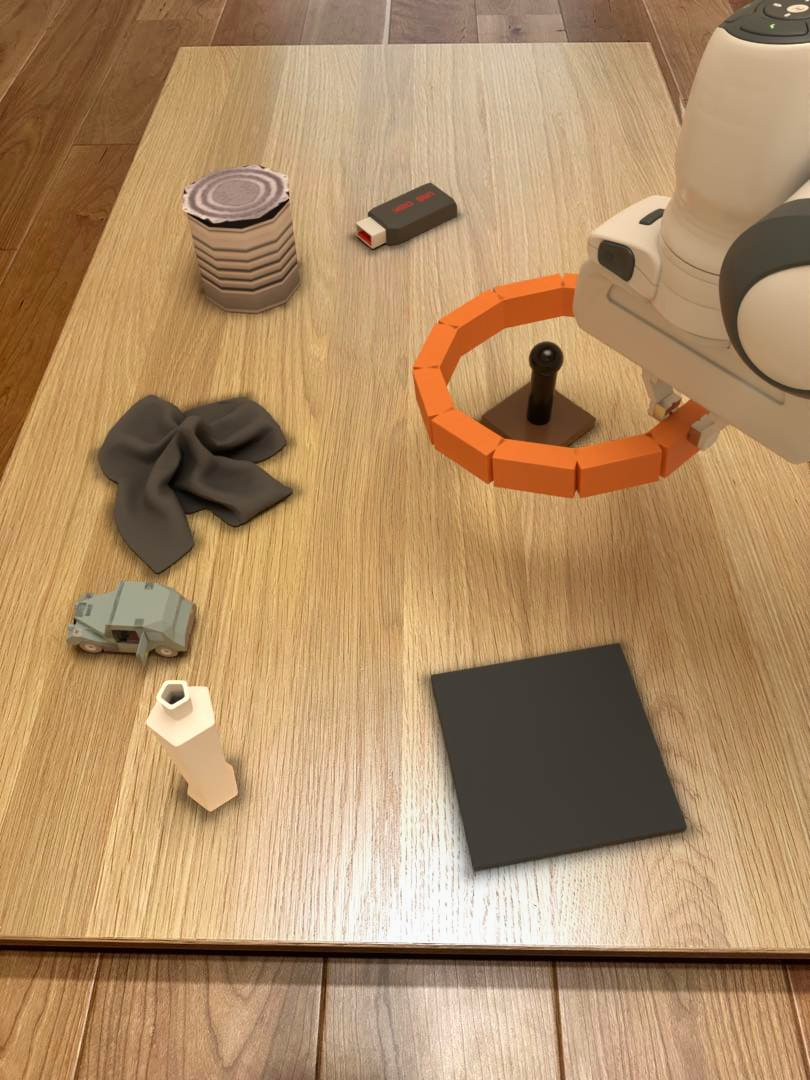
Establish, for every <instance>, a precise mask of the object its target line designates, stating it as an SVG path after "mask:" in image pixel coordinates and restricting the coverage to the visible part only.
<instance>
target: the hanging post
mask: <svg viewBox="0 0 810 1080" xmlns="http://www.w3.org/2000/svg"><path fill="white" fill-rule="evenodd" d="M564 359H565V356H564V353H563V350H562V349H561V347H560V345H558V344H557V343H555V342H553V341H549V340H545V341H544V340H543V341H540V342H538V343H536V344H535V345H534V346H533V347H532V348H531V349H530V352H529V354H528V364H529V367H530V369H531V373H530V381H529V382H527V383H526V384H524V385H523V386H522V387H520V388H519V389H518V390H516V391H515V392H513V393H512V394H510V395H509V396H507V397H506V398H505V399H503V400H502V401H500V402H499V403H497V404H496V405H494V406H493V407H492V408H490V409H489V410H487V411H486V412H485V413H483V414H482V415H480V416H481V417H480V424H482V425H483V426H485V427H486V428H488V429H490V430H491V431H493V432H494V433H496V434H498V435H499V436H501V437H502V438H504V439H510V440H518V441H525V442H532V443H539V444H547V445H554V446H561V447H568V448H569V446H570V445H572V444H573V443H574V442H575V441H577V440H579V438H581V437H582V436H583V435H585V434H586V433H587V432H589V431H590V430H592V429H593V428H594V427H595V426H596V421H597V419H596V417H595V416H593V414H591V413H589V412H588V411H587V410H585V408H582V407H581V406H579V405H578V404H576V402H574V401H572V400H571V399H569V398H568V397H566V396H565V395H563V394H562V393H561V392H559V391H558V390H556V384H557V378H558V372H559V371H560V370H561V369H562V367H563V365H564V361H565V360H564Z"/></svg>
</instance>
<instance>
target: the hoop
mask: <svg viewBox="0 0 810 1080" xmlns="http://www.w3.org/2000/svg"><path fill="white" fill-rule="evenodd" d="M578 274H579V273H571V272H570V273H568V272H565V273H563V277H562V276H561V275H562V274H560V273H554V274H549V275H544V276H540V277H535V278H529V279H526V280H520V281H517V282H516V281H515V282H511V283H507V284H502V285H497V286H493V287H492V290H491V289H486V290H485V291H483V292H481V293H480V294H478V295H476V296H475V297H473V298H471V299H470V300H469V301H466V302H465V303H464V304H462V305H460V306H459V307H457V308H456V309H454V310H452V311H451V312H448V313H447V314H445V315H444V316H442V317H440V319H438V320H437V323H436V322H435V323H434V324H433V326H432V328H431V330H430V332H429V334H428V336H427V337H426V340H425V342H424V344H423V346H422V347H421V350H420V351H419V353H418V356H417V357H416V359H415V361H414V363H413V365H412V372H411V373H412V379H413V386H414V393H415V400H416V403H417V406H418V409H419V412H420V415H421V418H422V421H423V424H424V427H425V430H426V433H427V436H428V439H429V442H430V445H431V446H433V447H434V448H433V449H435V451H437V452H438V453H440V454H442V455H443V456H445V457H446V458H448V459H449V460H451V461H452V462H453V463H455V464H456V465H458V466H460V467H461V468H463V469H464V470H465V471H467V472H469V473H470V474H471V475H472V476H475V477H476V478H477V479H479V480H480V481H482V482H484V483H485V484H486V485H490V484H491V483H493V487H494V488H500V489H506V490H512V491H513V490H514V491H519V492H526V493H532V494H533V493H534V494H540V495H547V496H552V497H560V498H566V499H574V498H575V495H576V492H577V495H578V497H579V499H585V498H589V497H594V496H598V495H602V494H607V493H611V492H615V491H616V492H617V491H620V490H626V489H630V488H634V487H638V486H642V485H647V484H652V483H656V482H659V481H660V478H661V477H662V478H663V479H666V478H668V477H669V476H670V475H671V474H672V473H674V472H675V471H676V470H678V469H679V468H680V467H681V466H683V464H685V463H686V462H687V461H689V460H690V459H691V458H692V457H694V456H695V455H696V454H697V453H699V452H700V451H702V450H701V449H699V448H698V447H696V446H695V445H693V444H692V443H690V442H689V441H687V437H688V436H689V435H690V434H689V430H690V427H691V425H692V424H694V423H695V422H696V421H700V418H701V417H702V416H704V415H705V414H708V415H709V412H710V411H708V410H707V409H705V408H704V407H702V406H701V405H699V404H697V403H696V402H694V401H693V400H691V399H690V398H689V399H688V401H686V402H685V403H684V404H682V405H681V406H680V407H678V408H679V409H678V410H677V411H676V412H674V413H672V414H671V415H669V417H668V418H666V419H665V420H664V421H662V422H658V423H657V424H656V425H654V427H652V428H651V429H650V430H648V431H647V432H645V433H640V434H635V435H631V436H627V437H622V438H618V439H614V440H610V441H609V440H608V441H604V442H600V443H594V444H590V445H586V446H580V447H577V448H575V447H569V446H568V447H561V446H554V445H547V444H539V443H532V442H525V441H518V440H510V439H504V438H502V437H501V436H499V435H498V434H496V433H494V432H493V431H491V430H490V429H488V428H486V427H485V426H483V425H482V424H481V422H478V421H477V420H475V419H473V418H472V417H471V416H469V415H467V414H466V413H464V412H462V411H461V410H459V409H457V408H456V407H455V405H454V401H453V399H452V397H451V394H450V391H449V389H448V385H449V383H450V381H451V380H452V377H453V375H454V372H455V370H456V368H457V366H458V364H459V362H460V360H461V358H462V357H464V355H467V354H468V353H469V352H471V351H472V350H474V349H475V348H477V347H478V346H480V345H482V344H483V343H485V342H486V341H488V340H489V339H491V338H492V337H494V336H496V335H497V334H498V333H500V332H502V331H503V330H504V329H509V328H514V327H519V326H523V325H524V326H525V325H528V324H533V323H537V322H543V321H547V320H551V319H557V318H560V317H568V318H575V317H574V314H573V299H574V293H575V287H576V282H577V278H578Z"/></svg>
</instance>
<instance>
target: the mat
mask: <svg viewBox="0 0 810 1080" xmlns="http://www.w3.org/2000/svg"><path fill="white" fill-rule="evenodd" d="M430 683H431V687H432V691H433V696H434V700H435V705H436V709H437V714H438V718H439V723H440V726H441V727H440V728H441V732H442V735H443V739H444V744H445V749H446V753H447V756H448V763H449V767H450V771H451V776H452V780H453V784H454V789H455V793H456V797H457V803H458V807H459V811H460V815H461V820H462V824H463V829H464V833H465V838H466V841H467V842H466V843H467V847H468V851H469V856H470V859H471V864H472V868H473V872H477V871H483V870H487V869H488V870H489V869H492V868H498V867H504V866H509V865H514V864H519V863H526V862H529V861H530V862H531V861H535V860H541V859H546V858H551V857H556V856H562V855H567V854H572V853H577V852H582V851H588V850H592V849H599V848H602V847H609V846H614V845H620V844H624V843H631V842H635V841H640V840H645V839H650V838H656V837H661V836H666V835H672V834H677V833H683V832H685V831H686V830H687V828H688V825H687V823H686V820H685V817H684V815H683V812H682V809H681V807H680V804H679V801H678V798H677V795H676V793H675V790H674V787H673V784H672V781H671V778H670V776H669V773H668V771H667V768H666V766H665V762H664V760H663V758H662V755H661V751H660V750H659V747H658V743H657V741H656V738H655V735H654V733H653V730H652V727H651V724H650V722H649V719H648V715H647V714H646V711H645V708H644V705H643V702H642V699H641V697H640V695H639V692H638V688H637V686H636V683H635V680H634V678H633V676H632V673H631V670H630V667H629V664H628V661H627V659H626V656H625V653H624V650H623V648H622V645H621V643H620V642H616V643H610V644H604V645H598V646H592V647H586V648H581V649H576V650H570V651H563V652H558V653H552V654H546V655H540V656H533V657H528V658H522V659H516V660H510V661H504V662H500V663H494V664H493V663H492V664H488V665H480V666H476V667H470V668H463V669H457V670H452V671H446V672H439V673H435V674H431V675H430Z"/></svg>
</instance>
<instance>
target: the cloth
mask: <svg viewBox="0 0 810 1080" xmlns="http://www.w3.org/2000/svg"><path fill="white" fill-rule="evenodd" d="M287 442H288V441H287V438H286V437H285V435H284V433H283V430H282V428H281V425H280V424H279V423H278V422H277V421H276V420H275V419H274V417H273V416H272V415H271V414H270V412H269V411H268V410H267V409H266V408H264V407H263V406H262V405H261V404H259V403H258V402H256V401H254V400H252V399H249V397H248V396H247V397H246V396H238V397H232V398H227V399H222V400H219V401H214V402H211V403H206V404H203V405H199V406H196V407H192V408H190V409H187V410H186V411H184V412H182V410H180V408H179V407H178V406H176V404H174V403H172V402H170V401H168V400H164V399H161V398H160V397H159V396H157V395H155V394H147V395H145V396H143V397H142V398H140V399H138V401H136V402H135V403H133V405H132V406H130V407H129V409H128V410H127V411H126V412H125V413H124V414H123V415H122V416H121V417H120V418H119V419H118V420H117V421H116V422H115V424H114V425H112V427H111V428H110V429H109V431H108V432H107V434H106V436H105V438H104V441H103V443H102V445H101V446H100V448H99V451H98V453H97V459H98V462H99V466H100V468H101V470H102V472H103V473H104V475H105V476H106V477H107V478H108V479H109V480H111V481H113V482H114V483H117V490H116V491H117V492H116V497H115V503H114V508H113V518H114V522H115V525H116V528H117V529H118V532H119V533H120V535H121V537H122V539H123V540H124V542H125V543H126V544H127V546H128V547H129V548H130V549H131V550H132V552H134V553H135V554H136V555H137V556H138V557H139V558H140V559H141V560H142V561H143V562H144V564H146V566H148V567H149V568H150V569H151V570H152V571H153V572H154V573H155V574H160V573H162V572H164V571H165V570H166V569H168V568H170V567H171V566H172V565H174V564H175V563H176V562H178V561H179V560H180V559H181V558H182V557H184V556H185V555H186V554H187V553H188V552H189V551H191V549H192V548H193V546H194V544H195V539H193V536H192V531H191V528H190V525H189V521H188V517H187V515H186V514H188V515H189V514H193V513H197V512H200V511H202V510H209V511H211V512H212V513H213V514H214V515H215V516H216V517H218V518H220V519H221V520H222V521H223V522H225V523H226V524H227V525H229V526H232V527H234V528H235V527H239V526H240V525H241V524H245V523H247V522H248V521H249V520H251V519H252V518H253V517H255V516H256V515H257V514H259V513H261V512H262V511H264V510H266V509H267V508H269V507H271V506H272V505H274V504H276V503H278V502H279V501H281V500H284V499H285V498H287V497H288V496H290V494H292V493H293V488H291V486H288V485H285V484H284V483H282V482H280V481H279V480H277V479H276V478H275V477H273V475H271V474H270V473H268V472H267V471H266V470H265V469H263V468H262V467H261V466H259V465H258V464H257V463H259V462H263V461H266V460H268V459H269V458H271V457H273V456H274V455H276V453H278V452H279V451H280V450H282V448H283V447H284V446H285V445H286V444H287Z"/></svg>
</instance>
